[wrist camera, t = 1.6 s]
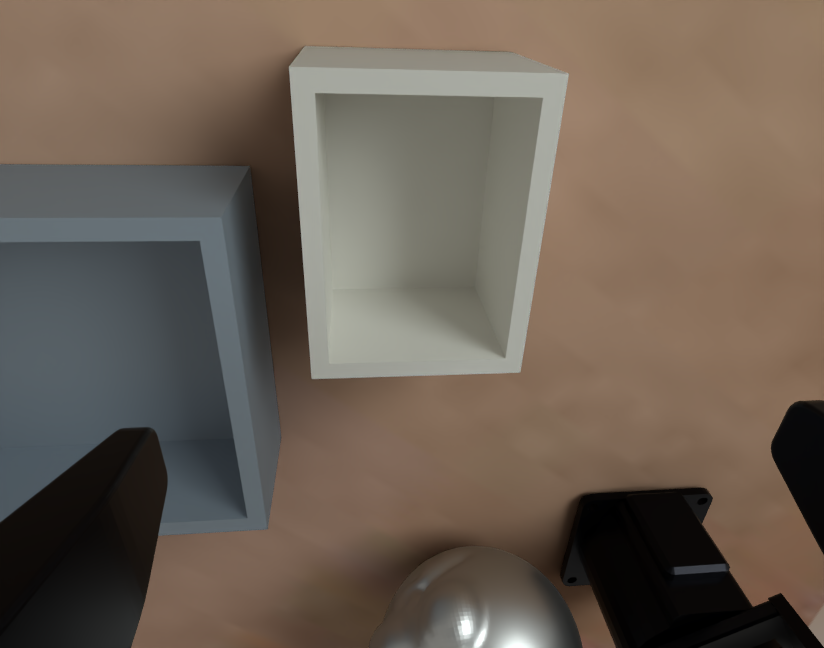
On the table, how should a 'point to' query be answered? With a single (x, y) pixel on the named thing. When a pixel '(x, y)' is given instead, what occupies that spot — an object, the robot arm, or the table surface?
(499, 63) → the box
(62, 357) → the large crate
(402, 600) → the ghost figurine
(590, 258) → the table surface
